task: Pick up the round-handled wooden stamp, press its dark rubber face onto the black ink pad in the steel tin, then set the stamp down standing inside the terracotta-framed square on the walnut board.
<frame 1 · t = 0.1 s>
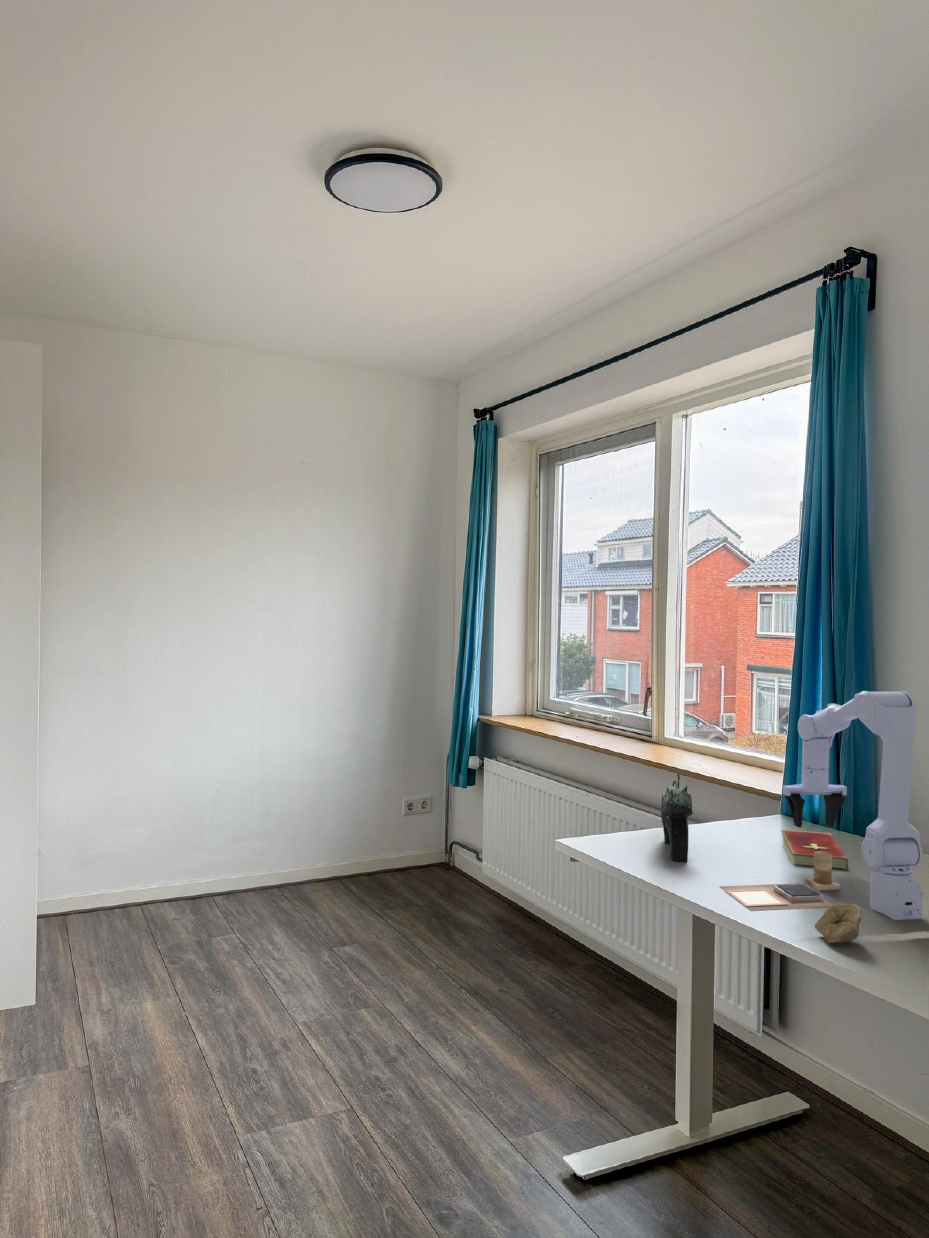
hand: (813, 825, 198), 10 cm above the table, tool pointing down, fingers open, 7 cm apart
hardcover book: (812, 860, 207), on the table
stamp: (822, 890, 184), on the table
fossil: (838, 941, 157), on the table
ink pad: (797, 895, 178), resting on board
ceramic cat: (673, 852, 210), on the table
print box: (756, 898, 176), resting on board
board: (775, 901, 177), on the table
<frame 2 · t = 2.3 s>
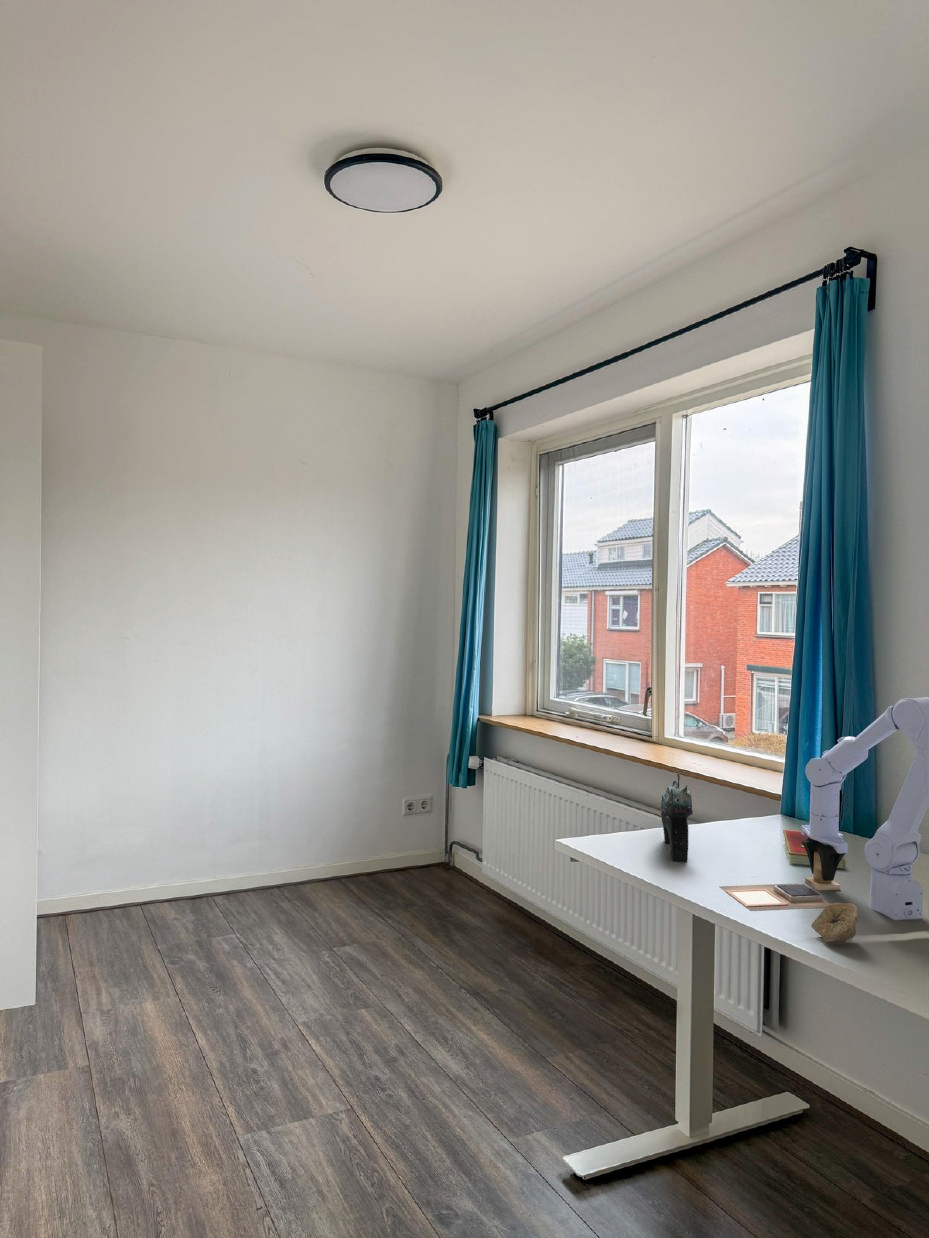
hand: (822, 876, 184), 3 cm above the table, tool pointing down, fingers closed on stamp, 4 cm apart
stamp: (822, 890, 184), on the table, touching gripper
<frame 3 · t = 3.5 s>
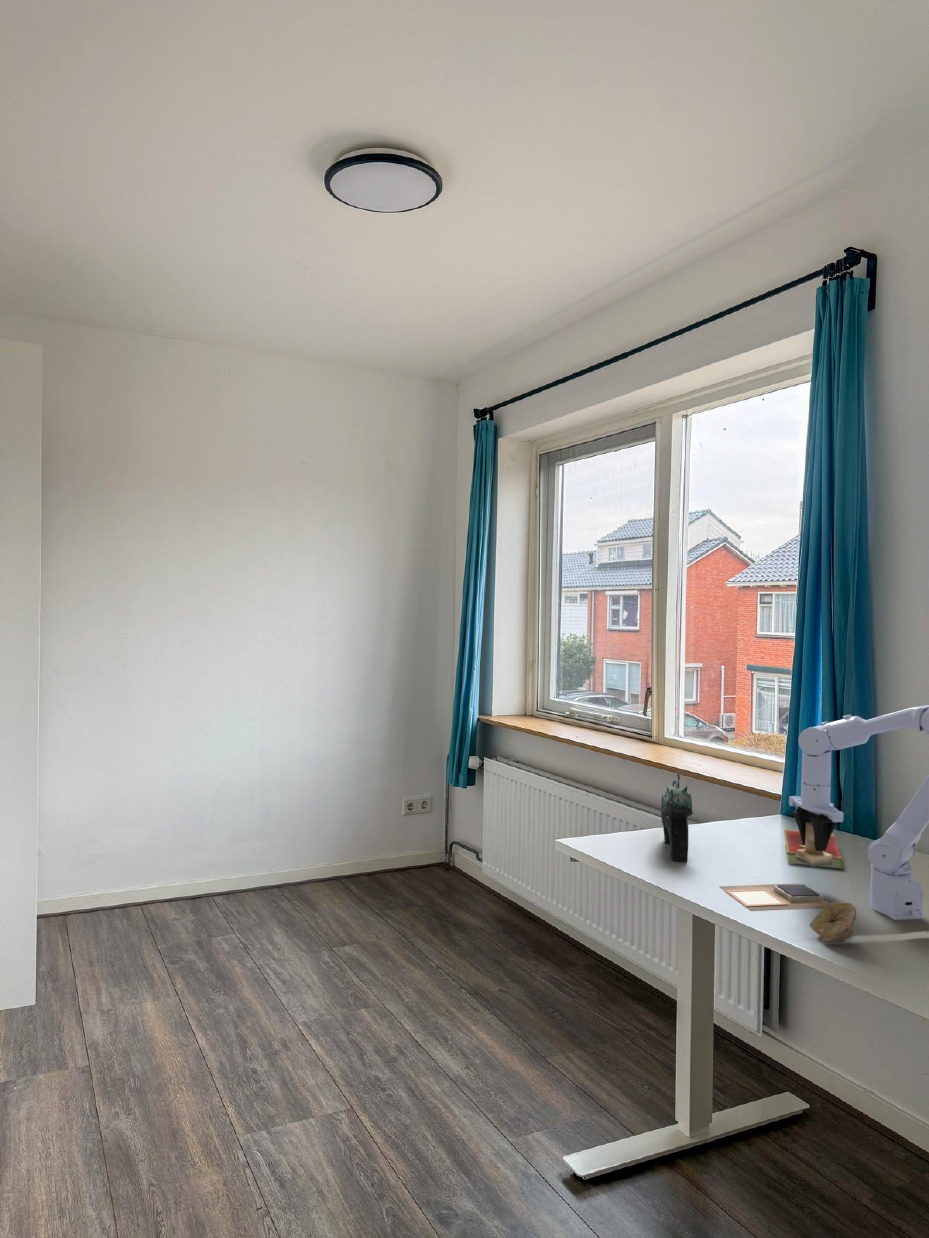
hand: (814, 847, 181), 10 cm above the table, tool pointing down, fingers closed on stamp, 4 cm apart
stamp: (813, 861, 181), point 7 cm above the table, touching gripper
everything else where it was.
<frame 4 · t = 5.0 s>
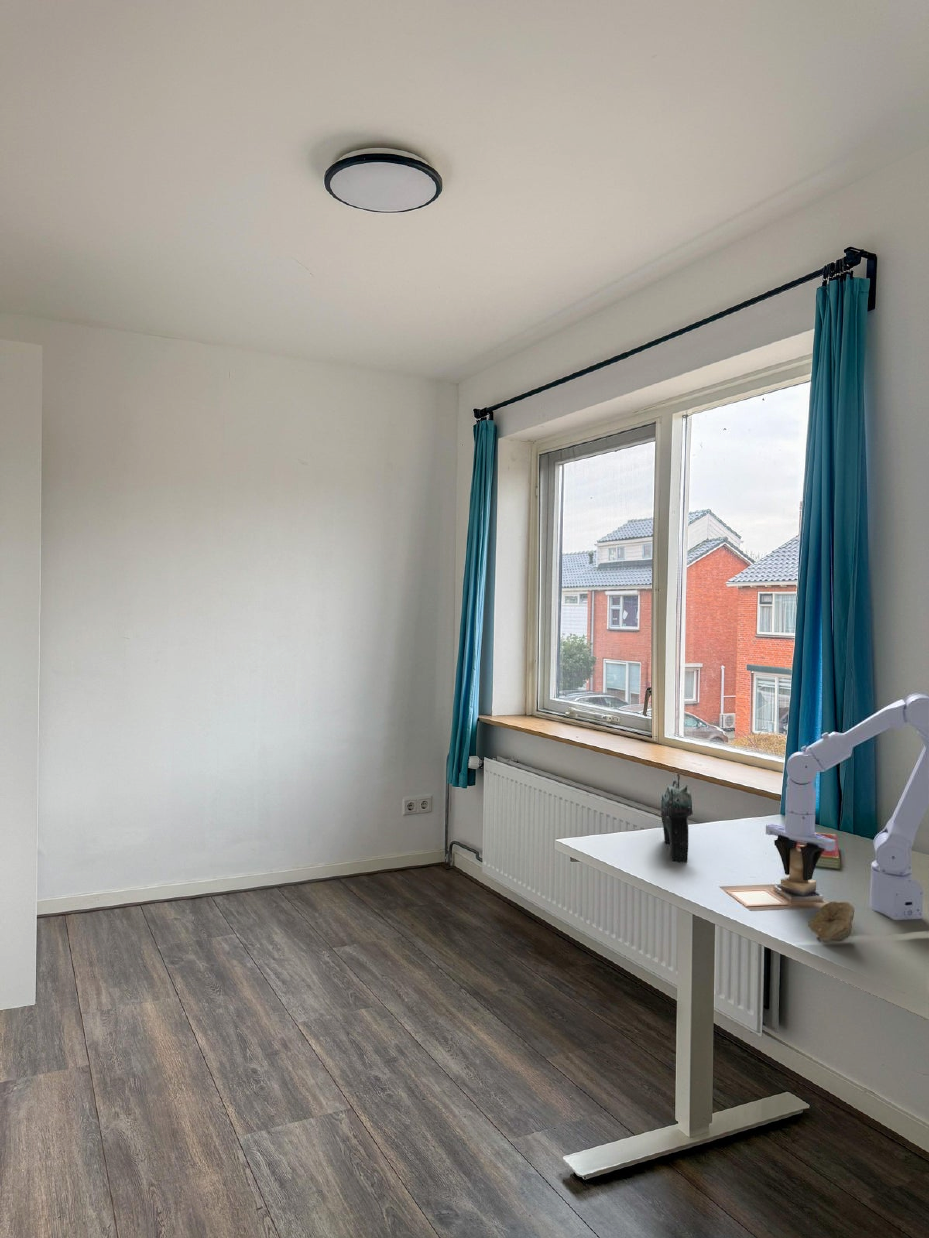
hand: (798, 876, 177), 5 cm above the table, tool pointing down, fingers closed on stamp, 4 cm apart
stamp: (798, 889, 178), point 2 cm above the table, touching gripper, ink pad
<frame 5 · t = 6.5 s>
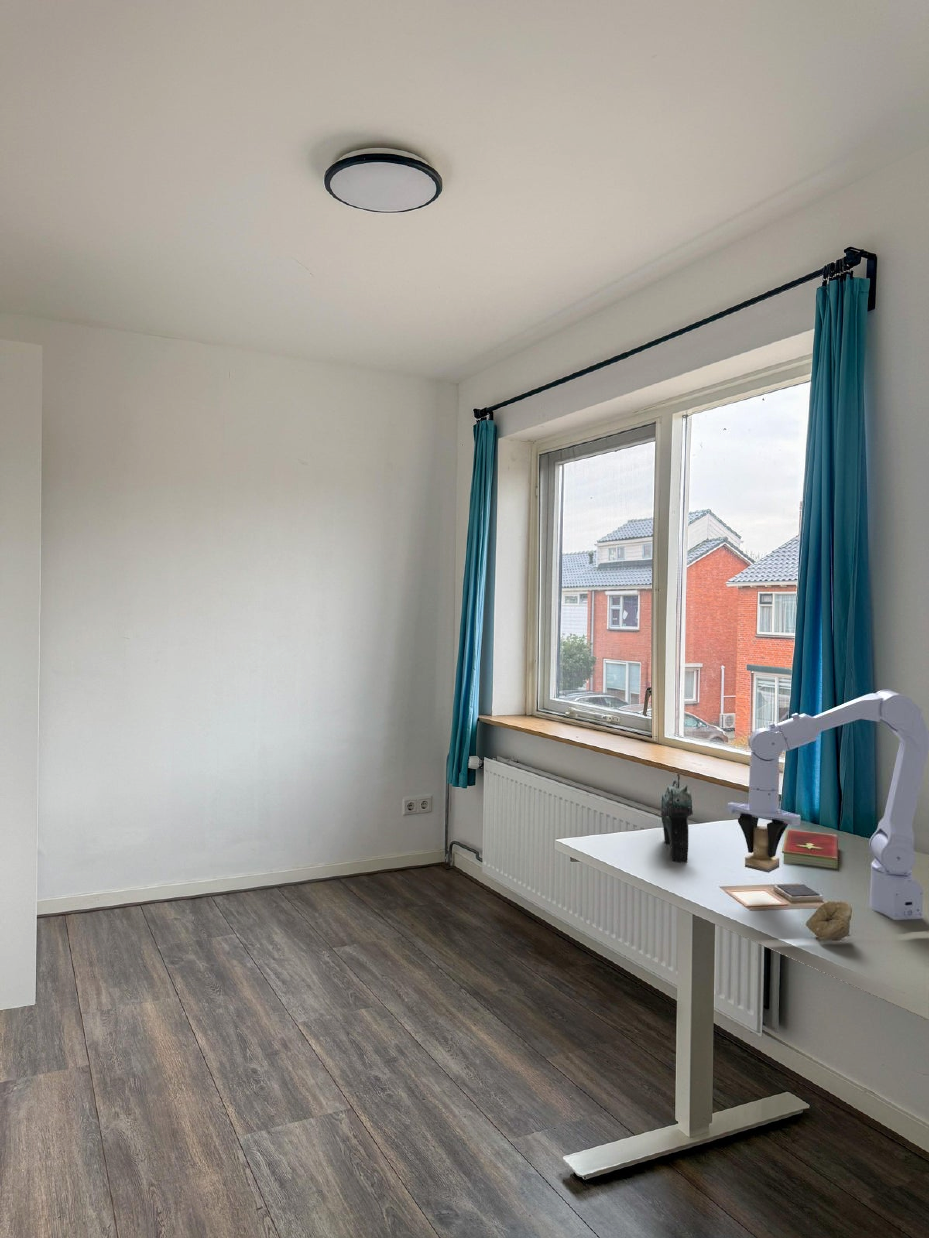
hand: (761, 853, 176), 10 cm above the table, tool pointing down, fingers closed on stamp, 4 cm apart
stamp: (762, 867, 176), point 7 cm above the table, touching gripper
when the fingers open (4 cm above the table, at t = 8.0 s): stamp stays where it is, resting on print box.
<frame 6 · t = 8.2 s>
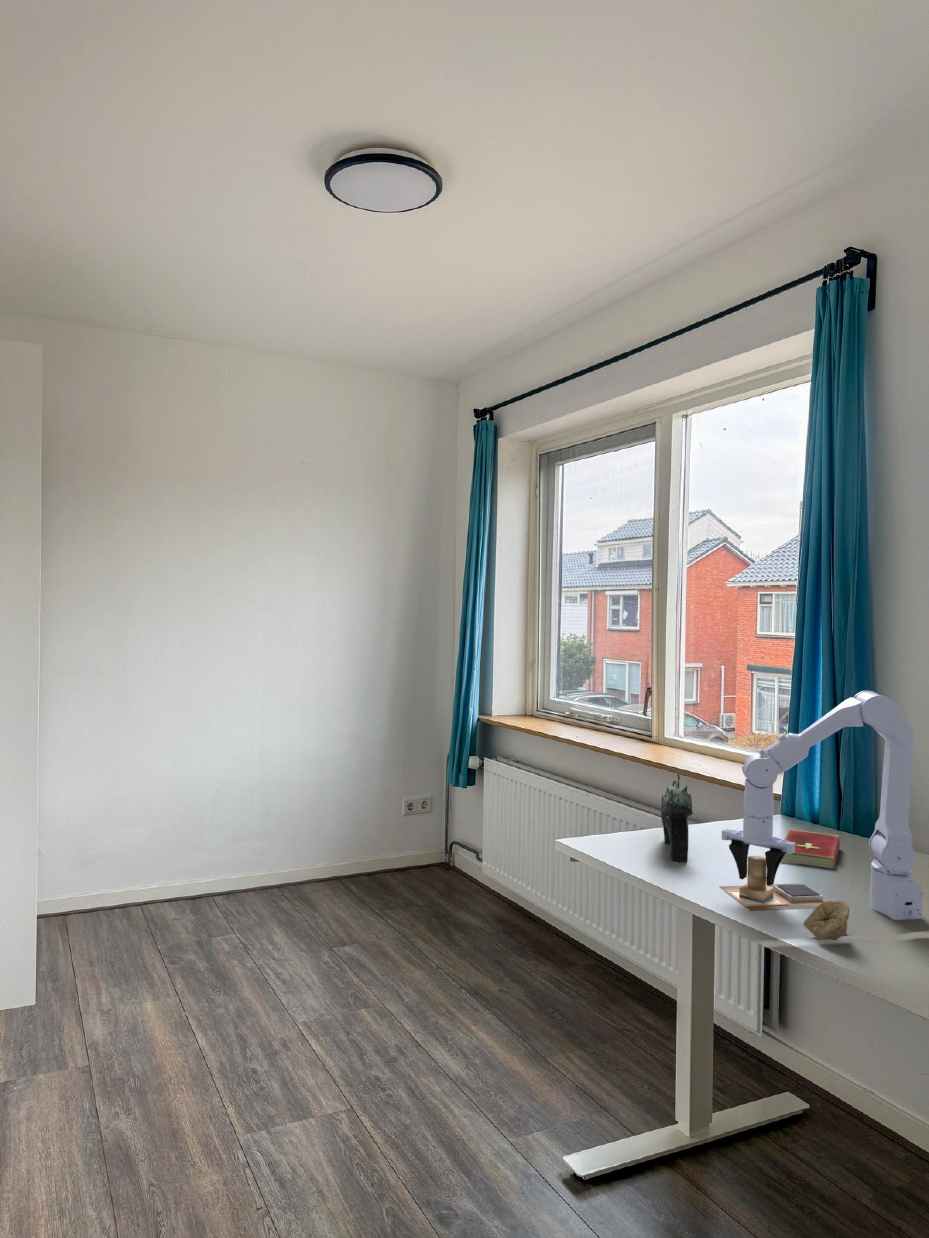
hand: (756, 881, 175), 5 cm above the table, tool pointing down, fingers open, 5 cm apart
stamp: (756, 897, 176), point 1 cm above the table, touching print box
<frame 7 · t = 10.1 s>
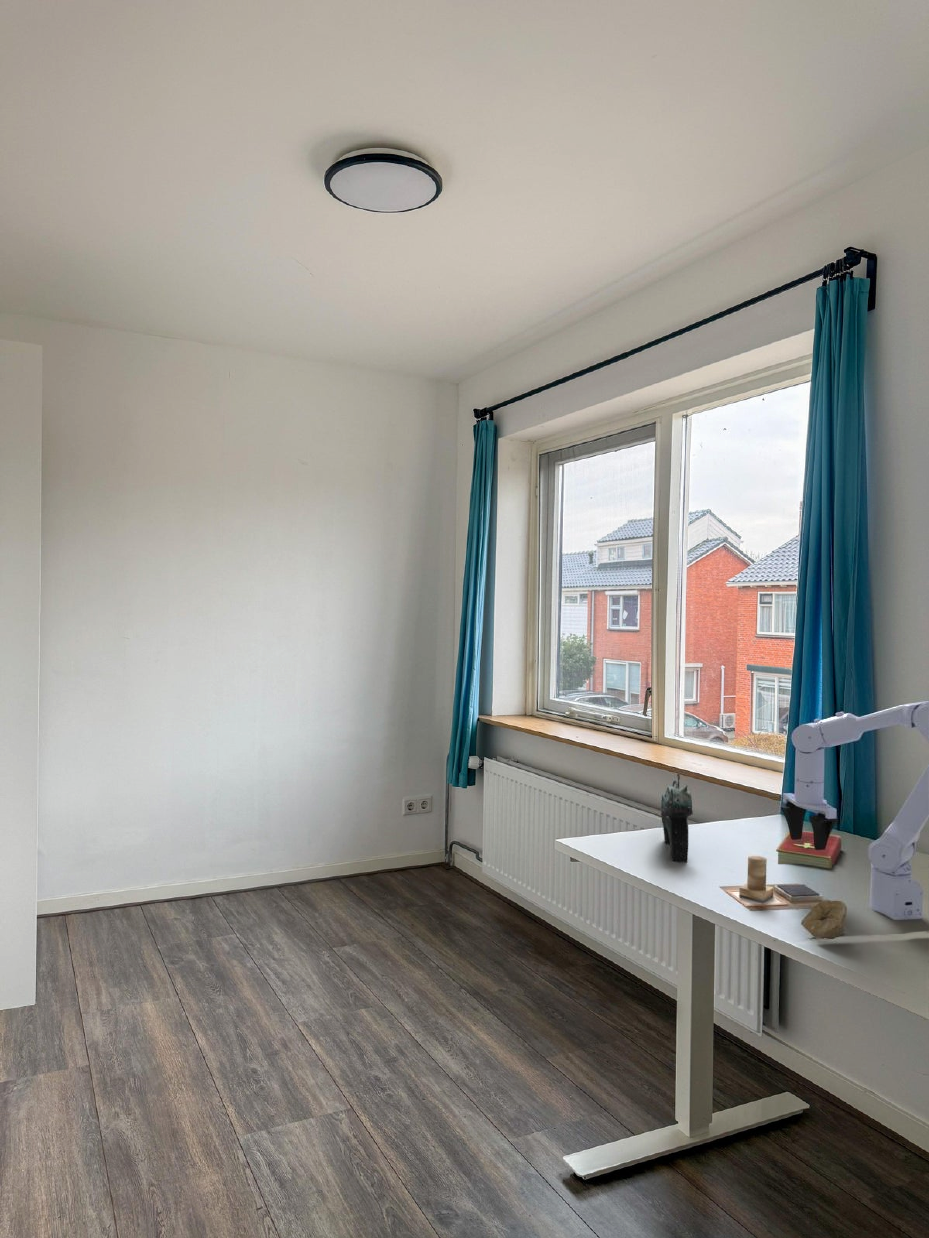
hand: (807, 844, 182), 10 cm above the table, tool pointing down, fingers open, 7 cm apart
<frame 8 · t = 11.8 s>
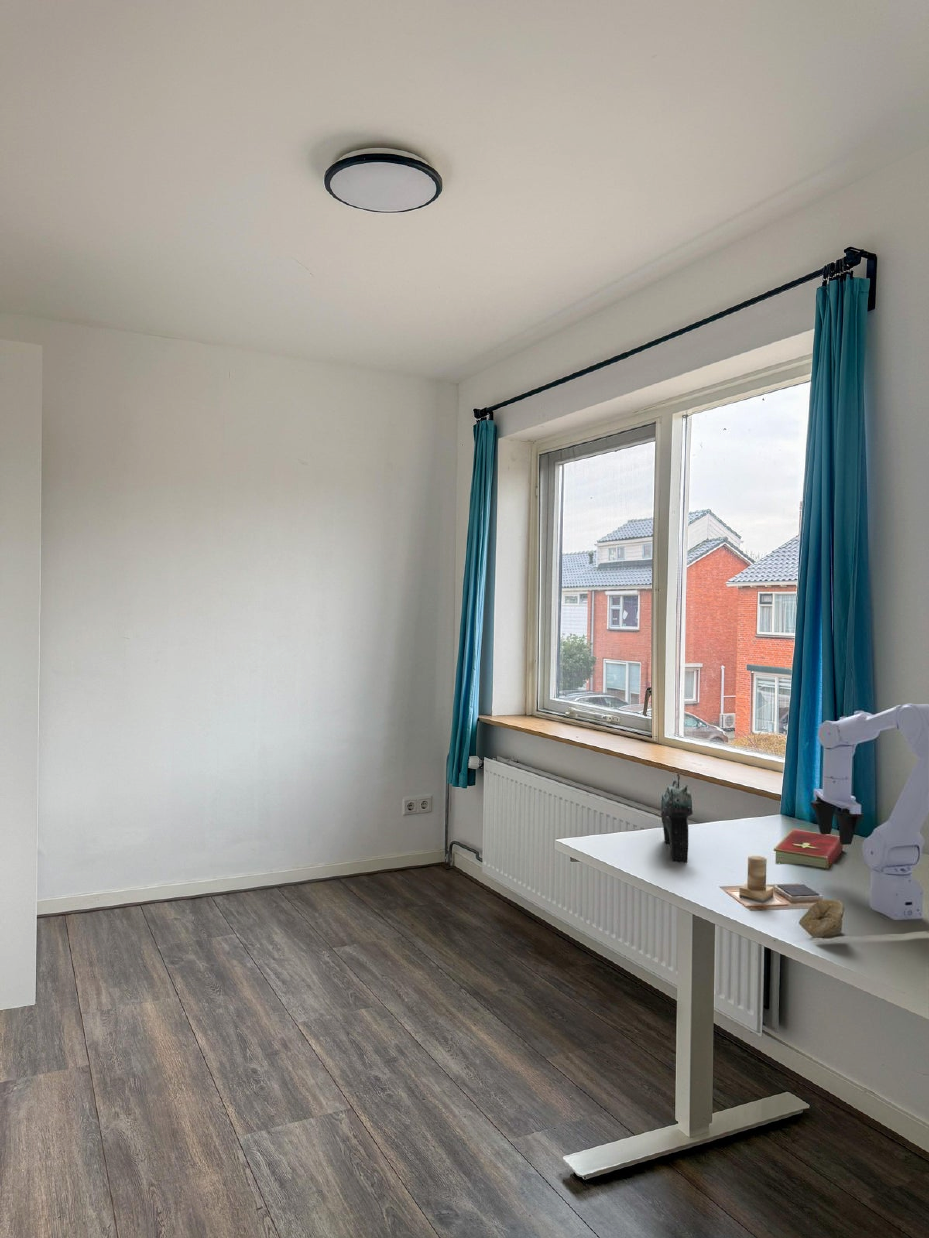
hand: (835, 838, 186), 10 cm above the table, tool pointing down, fingers open, 7 cm apart
at the end: stamp 0.3 cm off-centre on the print box, point 0.1 cm above the print box's base; stamp tilted 0°; the gripper is holding nothing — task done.
